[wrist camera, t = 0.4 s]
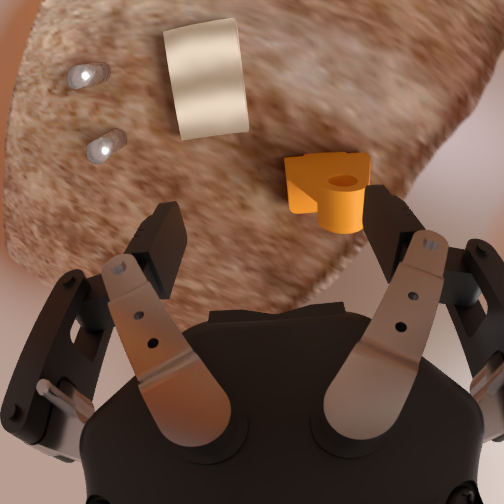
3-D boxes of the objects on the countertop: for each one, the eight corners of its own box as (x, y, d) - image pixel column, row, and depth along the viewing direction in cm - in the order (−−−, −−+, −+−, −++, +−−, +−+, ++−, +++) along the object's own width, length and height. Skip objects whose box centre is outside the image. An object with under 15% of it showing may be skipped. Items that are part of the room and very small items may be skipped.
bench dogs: (90, 67, 27) (64, 71, 22) (108, 59, 26) (84, 61, 22) (111, 151, 34) (90, 166, 30) (129, 145, 34) (109, 161, 29)
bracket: (288, 204, 39) (297, 258, 30) (283, 155, 35) (292, 196, 25) (362, 198, 38) (392, 249, 29) (363, 150, 34) (400, 188, 24)
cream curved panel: (170, 34, 25) (162, 31, 23) (236, 21, 25) (234, 17, 22) (187, 134, 34) (181, 140, 31) (249, 126, 33) (248, 131, 31)
